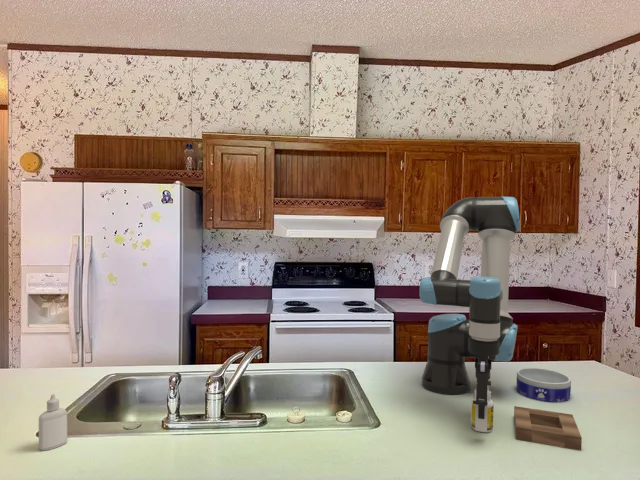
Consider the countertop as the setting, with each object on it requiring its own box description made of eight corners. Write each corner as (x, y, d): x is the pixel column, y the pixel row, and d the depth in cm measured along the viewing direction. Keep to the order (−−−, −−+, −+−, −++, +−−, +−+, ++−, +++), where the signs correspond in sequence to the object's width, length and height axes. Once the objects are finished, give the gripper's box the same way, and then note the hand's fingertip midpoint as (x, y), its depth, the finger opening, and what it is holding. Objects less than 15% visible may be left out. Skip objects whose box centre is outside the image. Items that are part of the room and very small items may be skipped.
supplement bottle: (494, 434, 113) (495, 395, 112) (472, 432, 114) (473, 393, 113) (491, 425, 118) (491, 388, 118) (469, 422, 119) (470, 386, 119)
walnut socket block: (514, 416, 123) (514, 406, 123) (572, 425, 118) (572, 414, 118) (516, 439, 110) (516, 427, 110) (581, 450, 105) (581, 437, 105)
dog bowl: (569, 390, 144) (570, 371, 144) (571, 407, 131) (572, 386, 131) (518, 382, 151) (518, 364, 151) (514, 397, 138) (515, 378, 138)
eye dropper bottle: (65, 448, 103) (64, 396, 103) (36, 452, 101) (36, 399, 101) (68, 439, 107) (68, 389, 107) (41, 443, 105) (41, 392, 105)
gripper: (471, 326, 128) (469, 400, 129) (465, 347, 105) (463, 437, 105) (499, 329, 125) (497, 404, 126) (499, 351, 102) (497, 443, 103)
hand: (481, 419), depth 116 cm, fingers open, 13 cm apart
